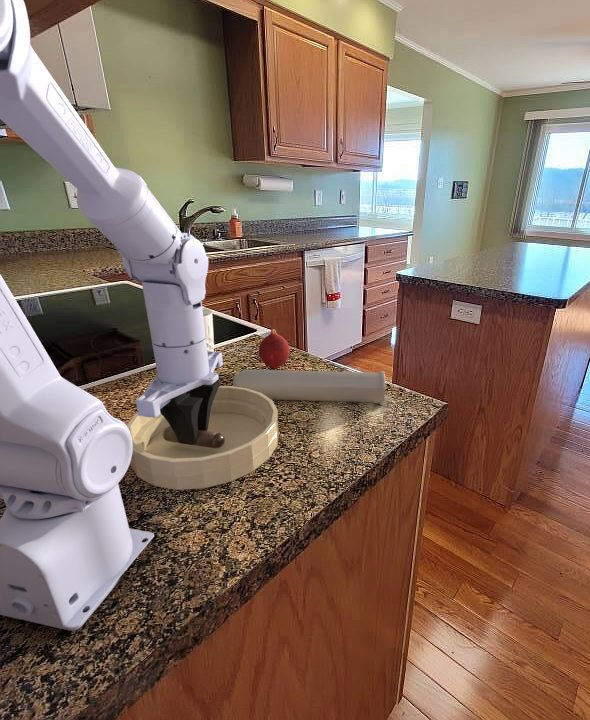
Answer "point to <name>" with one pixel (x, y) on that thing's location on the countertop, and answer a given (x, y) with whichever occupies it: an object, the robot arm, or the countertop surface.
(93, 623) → the countertop surface
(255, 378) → the tube
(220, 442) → the stick
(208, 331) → the white cup
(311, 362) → the countertop surface
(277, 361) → the onion
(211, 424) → the bowl
